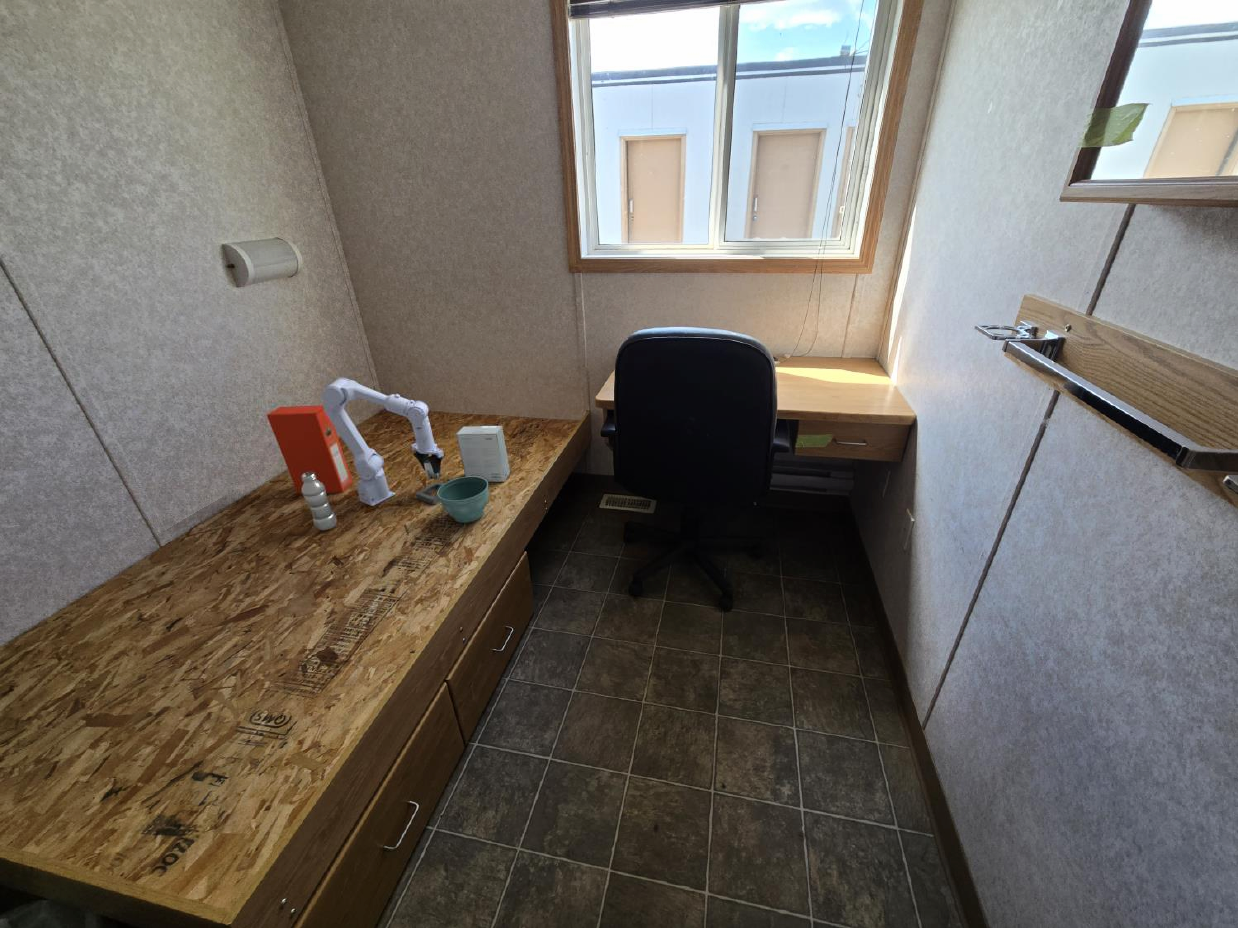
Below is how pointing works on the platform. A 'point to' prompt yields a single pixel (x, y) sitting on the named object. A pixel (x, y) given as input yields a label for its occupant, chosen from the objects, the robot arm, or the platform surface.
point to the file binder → (310, 446)
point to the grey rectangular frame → (424, 492)
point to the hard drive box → (484, 452)
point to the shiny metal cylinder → (430, 471)
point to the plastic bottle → (318, 502)
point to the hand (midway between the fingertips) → (432, 471)
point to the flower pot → (464, 498)
